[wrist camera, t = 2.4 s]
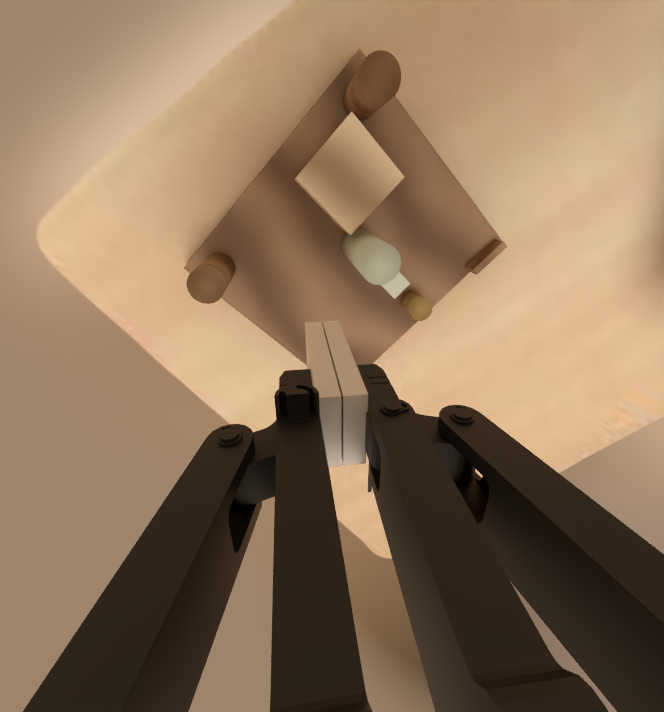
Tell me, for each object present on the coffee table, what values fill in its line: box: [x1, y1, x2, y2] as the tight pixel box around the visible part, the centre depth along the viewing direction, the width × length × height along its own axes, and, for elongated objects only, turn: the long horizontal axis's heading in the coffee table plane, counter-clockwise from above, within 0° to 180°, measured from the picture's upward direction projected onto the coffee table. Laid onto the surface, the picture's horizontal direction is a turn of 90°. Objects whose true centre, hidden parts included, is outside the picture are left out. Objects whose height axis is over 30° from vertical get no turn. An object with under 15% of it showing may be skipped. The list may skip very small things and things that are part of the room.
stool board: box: [184, 49, 507, 365], centre depth 28 cm, size 20×18×8 cm
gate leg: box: [342, 229, 410, 299], centre depth 27 cm, size 6×3×8 cm, turn 46°
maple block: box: [294, 112, 404, 235], centre depth 25 cm, size 5×5×5 cm
